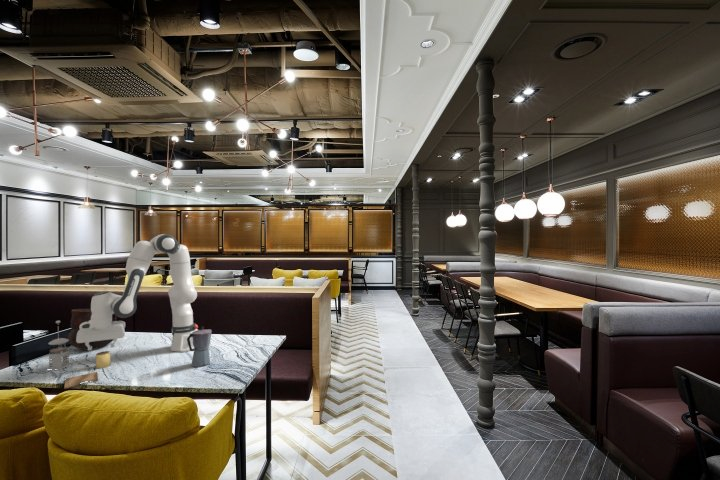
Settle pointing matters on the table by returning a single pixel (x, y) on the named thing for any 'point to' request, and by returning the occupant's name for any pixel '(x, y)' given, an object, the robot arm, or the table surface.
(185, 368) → the table surface
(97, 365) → the ochre cup
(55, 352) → the french press
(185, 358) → the table surface
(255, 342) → the table surface
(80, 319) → the jug
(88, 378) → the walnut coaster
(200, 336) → the moka pot
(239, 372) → the table surface
